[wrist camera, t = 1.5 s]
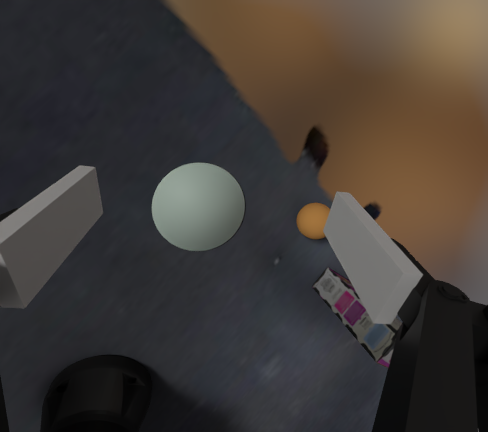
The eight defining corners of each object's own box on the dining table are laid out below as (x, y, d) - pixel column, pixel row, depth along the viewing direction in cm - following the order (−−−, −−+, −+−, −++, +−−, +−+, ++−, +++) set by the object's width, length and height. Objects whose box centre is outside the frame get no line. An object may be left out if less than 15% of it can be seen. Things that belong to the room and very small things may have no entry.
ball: (317, 231, 43) (337, 245, 38) (287, 230, 42) (303, 244, 37) (325, 200, 42) (346, 210, 37) (294, 197, 40) (312, 207, 35)
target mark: (238, 251, 41) (238, 251, 40) (150, 249, 37) (150, 250, 37) (250, 167, 37) (250, 168, 37) (153, 157, 33) (153, 157, 33)
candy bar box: (309, 287, 47) (375, 364, 32) (326, 265, 46) (401, 333, 31) (348, 309, 51) (422, 385, 36) (364, 289, 50) (446, 358, 35)
